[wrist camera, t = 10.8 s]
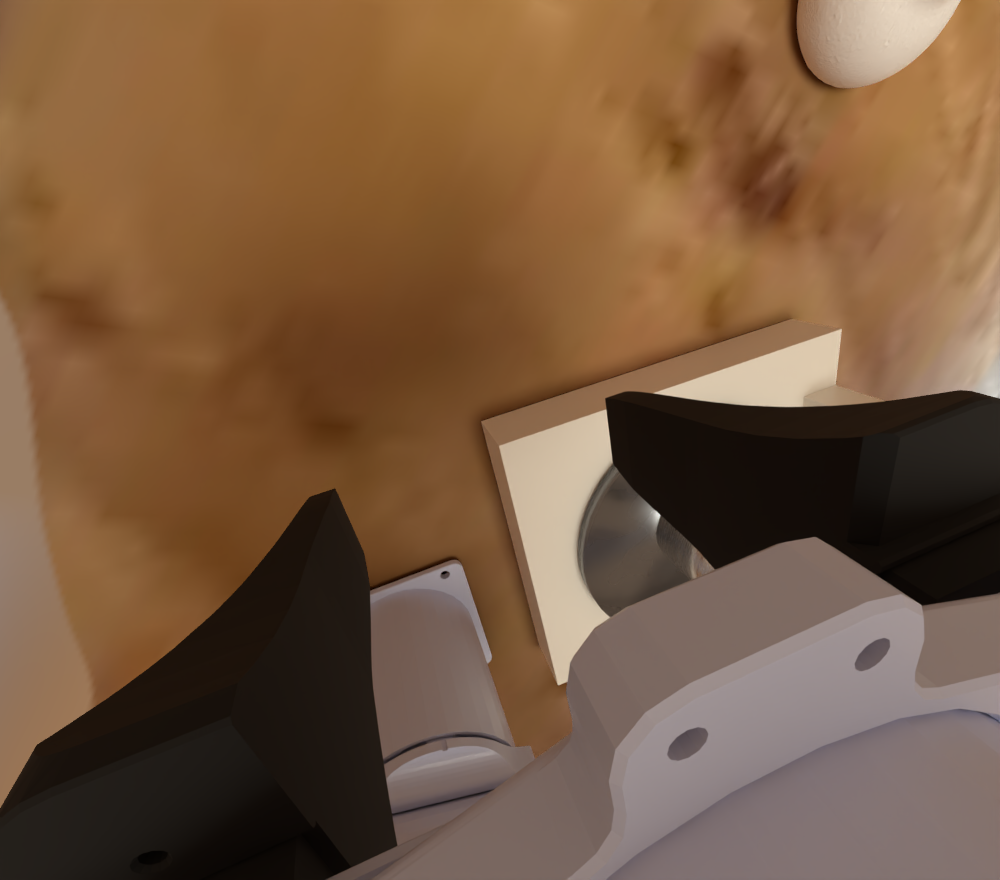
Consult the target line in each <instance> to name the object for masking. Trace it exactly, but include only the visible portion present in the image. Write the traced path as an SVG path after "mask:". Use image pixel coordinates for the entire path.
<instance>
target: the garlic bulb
mask: <svg viewBox="0 0 1000 880" xmlns="http://www.w3.org/2000/svg"><path fill="white" fill-rule="evenodd" d="M959 2H960V0H798V7H797V35H798V41H799V45H800V49H801V52H802V54H803V57H804V60H805V62H806V65H807V66H808V68H809V69H810V71H812V72H813V74H814V75H815V76H816V77H817V78H818V79H820V80H822V81H823V82H824V83H826V84H829V85H831V86H834V87H837V88H858V87H863V86H867V85H871V84H874V83H877V82H879V81H882V80H884V79H886V78H888V77H889V76H891V75H893V74H895V73H897V72H898V71H900V70H901V69H903V68H904V67H906V66H907V65H908V64H910V63H911V62H912V61H913V60H915V59H916V58H917V57H918V56H919V55H920V54H921V53H922V52H923V51H924V50H926V49H927V47H928V46H929V45H930V44H931V43H932V42H933V41H934V40H935V39H936V37H937V36H938V35H939V33H940V32H941V31H942V29H943V28H944V27H945V25H946V24H947V22H948V21H949V19H950V18H951V16H952V15H953V13H954V11H955V9H956V8H957V6H958V4H959Z"/></svg>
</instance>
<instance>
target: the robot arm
mask: <svg viewBox="0 0 1000 880" xmlns="http://www.w3.org/2000/svg"><path fill="white" fill-rule="evenodd" d="M605 403H606V411H607V419H608V427H609V436H610V444H611V452H612V461H613V464H614V466H615V467H616V468H617V470H618V471H619V472H620V474H621V475H622V476H623V478H624V479H625V480H626V481H627V483H628V484H629V485H630V486H631V487H632V489H633V490H634V491H635V492H636V493H637V494H638V495H639V496H641V497H642V498H643V499H644V500H645V501H646V502H647V503H648V504H649V505H650V506H651V507H652V508H653V509H654V510H655V511H657V512H658V513H659V514H660V515H661V516H662V517H663V518H664V519H665V520H666V521H667V522H668V523H670V524H671V525H672V526H673V527H674V528H675V529H676V530H677V531H678V532H679V533H680V534H682V535H683V536H684V537H685V538H686V539H687V540H688V541H689V542H690V543H691V544H692V545H693V546H694V547H695V548H696V549H697V550H698V551H699V552H700V553H701V554H702V555H703V557H704V558H705V559H706V560H707V561H708V562H709V564H710V565H711V566H712V567H713V568H714V569H715V570H714V571H711V572H709V573H706V574H704V575H702V576H699V577H697V578H694V579H692V580H690V581H687V582H685V583H683V584H680V585H678V586H675V587H673V588H671V589H668V590H666V591H663V592H661V593H659V594H656V595H654V596H651V597H649V598H647V599H644V600H642V601H640V602H637V603H635V604H632V605H630V606H628V607H626V608H624V609H623V610H621V611H620V612H618V613H616V614H615V615H613V616H612V617H610V618H609V619H607V620H606V621H604V622H603V623H601V624H600V625H598V626H596V627H595V628H594V629H593V631H592V632H591V633H590V635H589V636H588V637H587V639H586V640H585V641H584V643H583V644H582V645H581V647H580V648H579V650H578V651H577V652H576V654H575V655H574V656H573V658H572V660H571V662H570V667H569V675H568V682H567V689H566V695H567V699H568V703H569V708H570V712H571V716H572V723H573V732H571V733H570V734H569V735H567V736H566V737H565V738H563V739H562V740H560V741H559V742H558V743H556V744H555V745H554V746H552V747H551V748H550V749H548V750H547V751H545V752H544V753H543V754H541V755H540V756H539V757H537V758H536V759H535V757H534V755H533V752H532V749H531V747H530V746H523V747H515V744H514V741H513V738H512V735H511V732H510V729H509V726H508V723H507V720H506V717H505V714H504V711H503V708H502V705H501V703H500V700H499V697H498V694H497V691H496V688H495V685H494V682H493V679H492V676H491V673H490V670H489V667H488V663H489V662H490V661H491V659H492V655H491V652H490V649H489V646H488V642H487V639H486V636H485V633H484V630H483V627H482V624H481V621H480V618H479V615H478V612H477V609H476V606H475V603H474V600H473V597H472V594H471V591H470V588H469V585H468V582H467V579H466V576H465V573H464V570H463V567H462V564H461V562H460V561H458V560H450V561H448V562H445V563H442V564H440V565H437V566H434V567H432V568H429V569H426V570H424V571H421V572H418V573H416V574H413V575H411V576H408V577H405V578H403V579H400V580H397V581H395V582H392V583H389V584H387V585H384V586H381V587H379V588H376V589H373V590H371V591H370V585H369V578H368V572H367V567H366V561H365V555H364V552H363V550H362V547H361V545H360V543H359V541H358V538H357V536H356V534H355V532H354V530H353V527H352V525H351V523H350V521H349V518H348V516H347V514H346V512H345V509H344V507H343V505H342V503H341V500H340V498H339V496H338V494H337V492H336V489H332V490H329V491H326V492H323V493H320V494H317V495H314V496H311V497H309V498H308V500H307V501H306V502H305V503H304V505H303V506H302V507H301V509H300V510H299V512H298V513H297V514H296V516H295V517H294V519H293V520H292V522H291V523H290V524H289V526H288V527H287V528H286V530H285V531H284V533H283V534H282V535H281V537H280V538H279V539H278V541H277V542H276V544H275V545H274V546H273V548H272V549H271V550H270V551H269V552H268V554H267V555H266V556H265V557H264V559H263V560H262V561H261V562H260V564H259V565H258V566H257V567H256V568H255V570H254V571H253V572H252V573H251V575H250V576H249V577H248V578H247V579H246V580H245V581H244V583H243V584H242V585H241V586H240V587H239V588H238V589H237V590H236V591H235V592H234V593H233V594H232V595H231V596H230V597H229V598H228V599H227V600H226V601H225V602H224V603H223V605H222V606H221V607H220V608H219V609H218V610H216V611H215V612H214V613H213V614H212V615H211V616H210V617H209V618H208V619H207V620H206V621H205V622H203V623H202V624H201V625H200V626H199V627H198V628H197V629H195V630H194V631H193V632H192V633H191V634H190V635H189V636H187V637H186V638H185V639H184V640H183V641H182V642H181V643H180V644H178V645H177V646H176V647H175V648H174V649H173V650H171V651H170V652H169V653H168V654H166V655H165V656H164V657H163V658H161V659H160V660H159V661H157V662H156V663H155V664H154V665H152V666H151V667H150V668H149V669H147V670H146V671H145V672H143V673H142V674H141V675H139V676H138V677H136V678H135V679H134V680H132V681H131V682H130V683H128V684H127V685H126V686H124V687H123V688H122V689H120V690H119V691H117V692H116V693H115V694H113V695H112V696H110V697H109V698H107V699H106V700H105V701H103V702H102V703H100V704H99V705H97V706H96V707H94V708H93V709H91V710H90V711H88V712H86V713H85V714H83V715H82V716H80V717H79V718H77V719H76V720H74V721H73V722H72V723H70V724H69V725H67V726H66V727H64V728H62V729H61V730H59V731H58V732H56V733H55V734H53V735H52V736H50V737H49V738H47V739H45V740H44V741H42V742H41V743H39V744H37V746H36V747H35V749H34V751H33V752H32V754H31V756H30V758H29V760H28V761H27V763H26V765H25V767H24V768H23V770H22V772H21V774H20V775H19V777H18V779H17V781H16V782H15V784H14V785H13V787H12V789H11V791H10V792H9V794H8V796H7V798H6V799H5V801H4V803H3V805H2V806H1V808H0V880H1000V399H999V398H995V397H991V396H987V395H984V394H980V393H976V392H972V391H962V390H959V391H952V392H945V393H939V394H932V395H926V396H919V397H913V398H906V399H900V400H892V401H882V402H872V403H863V404H851V405H837V406H811V407H773V406H749V405H736V404H727V403H717V402H709V401H701V400H694V399H687V398H680V397H674V396H667V395H661V394H654V393H646V392H636V391H625V392H622V393H619V394H616V395H613V396H610V397H607V398H605ZM443 571H448V572H447V573H446V574H443V575H442V574H441V573H442V572H443Z"/></svg>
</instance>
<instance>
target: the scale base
mask: <svg viewBox="0 0 1000 880" xmlns="http://www.w3.org/2000/svg"><path fill="white" fill-rule="evenodd" d="M841 331H842V329H840V328H835V327H830V326H825V325H820V324H815V323H810V322H805V321H800V320H795V319H790V320H787V321H783V322H780V323H777V324H774V325H771V326H768V327H765V328H762V329H759V330H756V331H753V332H750V333H747V334H744V335H741V336H738V337H735V338H732V339H729V340H726V341H723V342H720V343H717V344H714V345H711V346H708V347H705V348H702V349H699V350H696V351H692V352H689V353H686V354H683V355H680V356H677V357H674V358H671V359H668V360H665V361H662V362H659V363H656V364H653V365H650V366H647V367H644V368H641V369H638V370H635V371H632V372H629V373H626V374H623V375H620V376H617V377H614V378H611V379H608V380H605V381H601V382H598V383H595V384H592V385H589V386H586V387H583V388H580V389H577V390H574V391H571V392H568V393H565V394H562V395H559V396H556V397H553V398H550V399H547V400H544V401H541V402H538V403H535V404H532V405H529V406H526V407H523V408H520V409H517V410H514V411H511V412H507V413H504V414H501V415H498V416H495V417H492V418H489V419H486V420H483V421H481V424H482V427H483V431H484V435H485V439H486V443H487V447H488V451H489V454H490V458H491V462H492V466H493V470H494V474H495V478H496V481H497V485H498V489H499V493H500V497H501V501H502V505H503V508H504V512H505V516H506V520H507V524H508V528H509V532H510V535H511V539H512V543H513V547H514V551H515V555H516V559H517V562H518V566H519V570H520V574H521V578H522V582H523V585H524V589H525V593H526V597H527V601H528V605H529V609H530V612H531V616H532V620H533V624H534V628H535V632H536V636H537V639H538V643H539V647H540V649H541V651H542V653H543V655H544V657H545V659H546V661H547V663H548V665H549V668H550V670H551V672H552V674H553V676H554V678H555V680H556V682H557V684H558V685H560V684H563V683H565V682H567V681H568V675H569V667H570V662H571V660H572V658H573V656H574V655H575V654H576V652H577V651H578V650H579V648H580V647H581V645H582V644H583V643H584V641H585V640H586V639H587V637H588V636H589V635H590V633H591V632H592V631H593V629H594V628H595V627H596V626H598V625H600V624H601V623H603V622H604V621H606V620H607V619H609V618H610V617H609V616H608V615H607V614H606V613H605V612H604V611H603V610H602V609H601V608H600V607H599V605H598V604H597V603H596V601H595V600H594V598H593V597H592V596H591V594H590V593H589V591H588V590H587V588H586V586H585V583H584V581H583V579H582V576H581V572H580V568H579V561H578V540H579V535H580V529H581V524H582V521H583V518H584V515H585V512H586V509H587V507H588V505H589V503H590V500H591V498H592V496H593V494H594V492H595V491H596V489H597V487H598V486H599V484H600V482H601V481H602V479H603V478H604V476H605V475H606V474H607V472H608V471H609V470H610V468H611V467H612V466H613V465H614V464H613V461H612V452H611V444H610V436H609V427H608V419H607V411H606V403H605V398H607V397H610V396H613V395H616V394H619V393H622V392H625V391H636V392H646V393H654V394H661V395H667V396H674V397H680V398H687V399H694V400H701V401H709V402H717V403H727V404H736V405H749V406H773V407H811V406H837V405H851V404H863V403H872V402H882V401H884V400H881V399H878V398H875V397H872V396H868V395H865V394H862V393H859V392H856V391H853V390H849V389H846V388H843V387H840V386H837V385H836V377H837V367H838V358H839V349H840V340H841Z"/></svg>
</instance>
